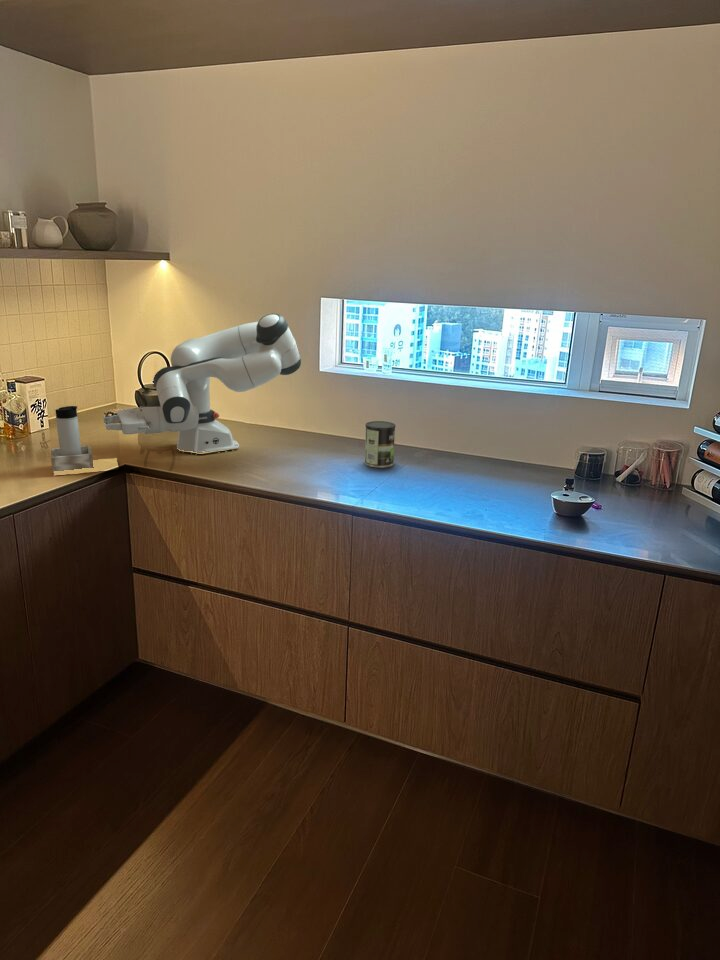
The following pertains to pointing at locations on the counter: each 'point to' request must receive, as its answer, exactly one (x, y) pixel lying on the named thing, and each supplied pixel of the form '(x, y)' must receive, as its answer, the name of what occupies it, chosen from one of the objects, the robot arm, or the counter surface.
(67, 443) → the travel mug
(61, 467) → the mug caddy
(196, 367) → the robot arm
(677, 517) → the counter surface
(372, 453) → the coffee can
